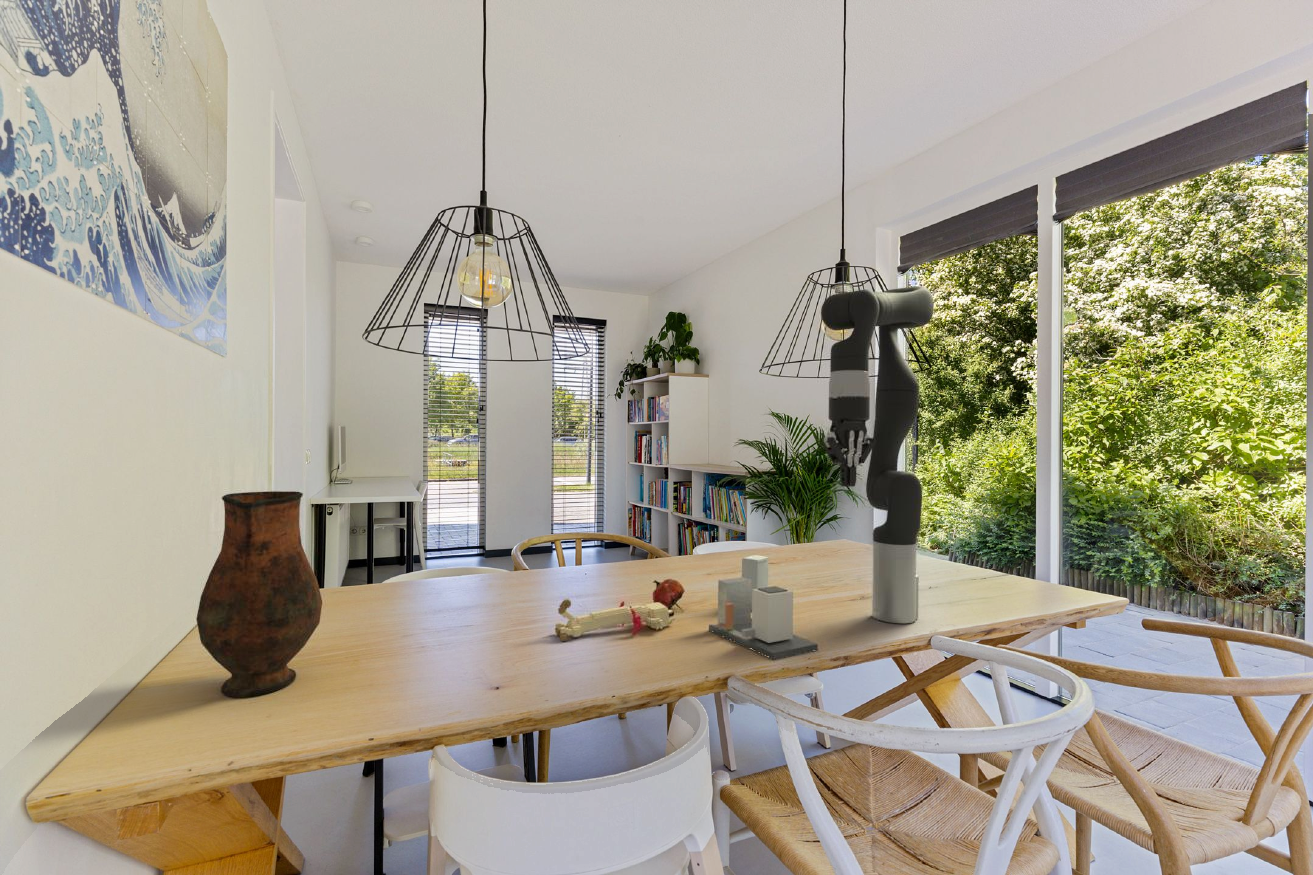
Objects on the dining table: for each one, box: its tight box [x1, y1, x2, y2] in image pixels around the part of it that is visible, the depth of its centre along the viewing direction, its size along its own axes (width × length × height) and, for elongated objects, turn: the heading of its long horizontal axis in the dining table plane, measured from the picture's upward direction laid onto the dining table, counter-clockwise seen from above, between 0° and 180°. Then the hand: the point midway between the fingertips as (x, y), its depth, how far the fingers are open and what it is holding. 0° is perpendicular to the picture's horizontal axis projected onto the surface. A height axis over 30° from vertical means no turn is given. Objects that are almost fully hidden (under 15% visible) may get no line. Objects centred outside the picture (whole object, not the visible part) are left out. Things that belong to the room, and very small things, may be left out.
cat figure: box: [554, 598, 677, 643], centre depth 128 cm, size 10×9×25 cm
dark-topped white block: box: [742, 585, 794, 643], centre depth 121 cm, size 8×5×9 cm, turn 121°
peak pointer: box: [725, 603, 734, 630], centre depth 126 cm, size 1×1×5 cm, turn 121°
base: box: [708, 576, 819, 660], centre depth 124 cm, size 11×20×10 cm, turn 31°
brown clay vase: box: [196, 490, 323, 699], centre depth 101 cm, size 17×21×30 cm
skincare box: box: [741, 554, 770, 611], centre depth 149 cm, size 6×4×12 cm
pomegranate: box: [652, 578, 685, 613], centre depth 146 cm, size 7×7×10 cm
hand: (848, 486), depth 120 cm, fingers closed
